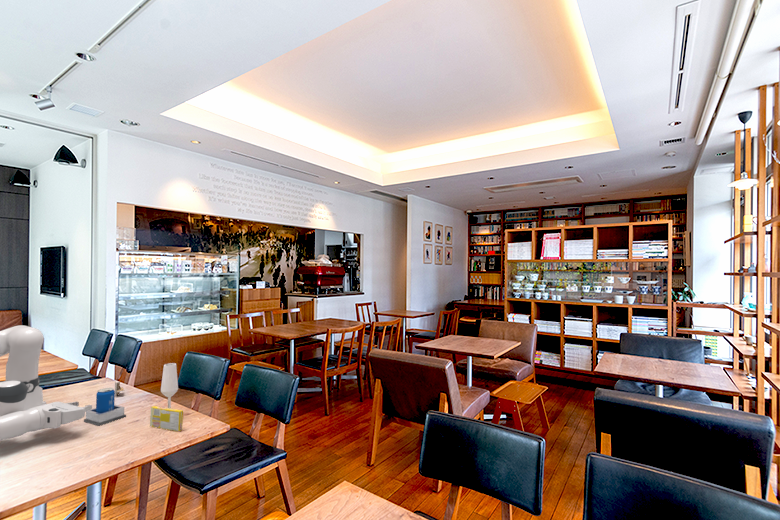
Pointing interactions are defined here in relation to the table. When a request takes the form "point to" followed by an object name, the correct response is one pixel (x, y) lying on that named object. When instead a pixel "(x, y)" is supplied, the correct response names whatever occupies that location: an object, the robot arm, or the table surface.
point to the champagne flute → (169, 381)
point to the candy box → (166, 418)
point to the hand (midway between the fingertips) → (84, 405)
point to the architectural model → (118, 388)
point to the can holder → (104, 416)
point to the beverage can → (105, 400)
